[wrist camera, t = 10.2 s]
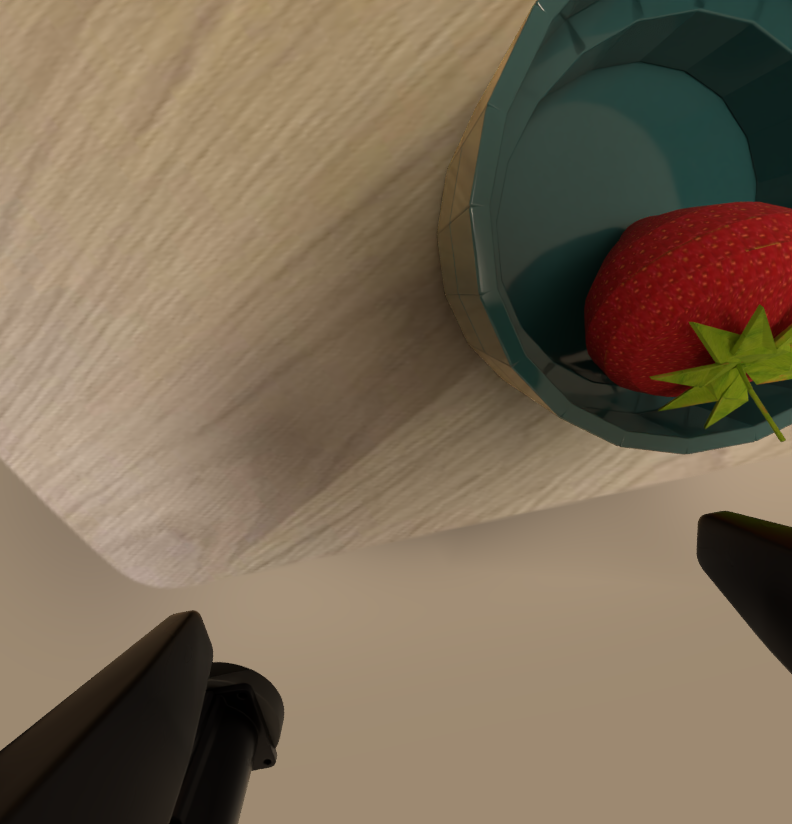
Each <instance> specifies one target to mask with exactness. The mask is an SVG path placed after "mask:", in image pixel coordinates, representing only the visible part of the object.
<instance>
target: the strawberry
mask: <svg viewBox="0 0 792 824" xmlns="http://www.w3.org/2000/svg"><path fill="white" fill-rule="evenodd" d="M584 319H585V340H586V347H587V351H588V355H589V356H590V357H591V359H592V360H593V361H594V363H595V364H596V365H597V366H598V367H599V368H600V369H601V370H602V371H603V372H604V373H605V374H606V376H607V377H608V378H609V379H610V380H611V381H613V382H614V383H616V384H617V385H619V386H620V387H623V388H626V389H629V390H632V391H636V392H641V393H646V394H651V395H657V396H665V397H676V398H674V399H673V400H671V401H670V402H669V403H667V404H666V405H664V406H663V407H661V408H660V409H658V411H663V410H669V409H675V408H680V407H686V406H692V405H698V404H703V403H709V402H715V401H717V402H716V404H715V406H714V408H713V410H712V412H711V413H710V415H709V417H708V419H707V421H706V423H705V425H704V428H705V429H706V428H708V427H709V426H711V425H712V424H714V423H715V422H717V421H719V420H720V419H722V418H723V417H725V416H726V415H728V414H729V413H731V412H732V411H734V410H735V409H737V408H738V407H740V406H741V405H743V404H744V403H746V402H747V401H748V392H749V394H750V395H751V397H752V398H753V400H754V402H755V403H756V405H757V406H758V408H759V409H760V411H761V412H762V414H763V415H764V417H765V419H766V420H767V422H768V423H769V425H770V426H771V428H772V429H773V431H774V432H775V434H776V436H777V437H778V439H779V440H780V442H783V441H785V440H786V439H785V438H784V436H783V435H782V433H781V432H780V430H779V429H778V427H777V425H776V424H775V422H774V421H773V419H772V418H771V416H770V415H769V413H768V412H767V410H766V409H765V407H764V405H763V404H762V402H761V401H760V399H759V398H758V396H757V395H756V393H755V392H754V390H753V388H752V386H751V384H750V382H751V381H754V382H755V384H756V385H759V384H765V383H771V382H777V381H783V380H789V379H792V209H791V208H786V207H781V206H777V205H772V204H767V203H762V202H732V203H724V204H715V205H707V206H698V207H690V208H684V209H678V210H675V211H671V212H668V213H664V214H661V215H657V216H649V217H646V218H643V219H640V220H638V221H636V222H634V223H633V224H631V225H630V226H629V227H628V228H627V229H626V230H625V231H624V232H623V234H622V235H621V237H620V239H619V241H618V242H617V243H616V244H615V246H614V247H613V248H612V249H611V250H610V252H609V253H608V255H607V256H606V258H605V259H604V261H603V263H602V265H601V267H600V269H599V271H598V273H597V275H596V277H595V280H594V282H593V284H592V286H591V288H590V290H589V293H588V295H587V297H586V300H585V308H584ZM747 390H748V392H747Z"/></svg>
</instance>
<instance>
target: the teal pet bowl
mask: <svg viewBox="0 0 792 824" xmlns="http://www.w3.org/2000/svg"><path fill="white" fill-rule="evenodd" d="M732 202H762V203H767V204H772V205H777V206H781V207H786V208H791V209H792V0H537V1H536V2H535V4H534V5H533V6H532V8H531V10H530V12H529V14H528V15H527V17H526V19H525V21H524V22H523V24H522V26H521V28H520V30H519V31H518V33H517V35H516V37H515V38H514V40H513V42H512V44H511V46H510V47H509V49H508V51H507V53H506V55H505V56H504V58H503V60H502V62H501V63H500V65H499V67H498V69H497V71H496V72H495V74H494V76H493V78H492V79H491V81H490V83H489V85H488V87H487V88H486V90H485V92H484V94H483V96H482V97H481V99H480V101H479V103H478V104H477V106H476V108H475V110H474V112H473V114H472V117H471V119H470V121H469V123H468V125H467V127H466V129H465V132H464V134H463V136H462V138H461V140H460V142H459V145H458V147H457V149H456V151H455V153H454V155H453V157H452V160H451V162H450V164H449V166H448V168H447V172H446V178H445V185H444V191H443V197H442V204H441V210H440V217H439V223H438V229H437V234H438V235H437V241H438V249H439V256H440V264H441V271H442V279H443V286H444V293H445V294H446V295H445V296H446V298H447V300H448V303H449V305H450V307H451V309H452V311H453V313H454V315H455V317H456V320H457V322H458V324H459V326H460V328H461V330H462V332H463V334H464V336H465V339H466V341H467V343H468V344H469V346H470V347H471V348H472V349H473V350H474V351H475V352H476V353H477V354H478V355H479V356H480V357H481V358H482V359H483V360H484V361H485V362H486V363H487V364H488V365H489V366H490V367H491V368H492V369H493V370H494V371H495V372H496V373H497V374H498V375H499V377H500V378H501V379H502V380H504V381H505V382H507V383H508V384H510V385H511V386H513V387H514V388H516V389H517V390H519V391H520V392H522V393H523V394H525V395H526V396H528V397H529V398H531V399H532V400H534V401H535V402H537V403H538V404H540V405H541V406H543V407H544V408H546V409H547V410H549V411H550V412H552V413H553V414H555V415H556V416H558V417H559V418H561V419H563V420H565V421H567V422H569V423H571V424H573V425H575V426H577V427H579V428H581V429H583V430H585V431H587V432H589V433H591V434H593V435H595V436H597V437H599V438H601V439H603V440H606V441H608V442H610V443H612V444H614V445H616V446H620V447H625V448H633V449H642V450H650V451H659V452H667V453H676V454H692V453H697V452H702V451H708V450H713V449H719V448H724V447H729V446H735V445H740V444H745V443H751V442H754V441H758V440H760V439H762V438H764V437H766V436H768V435H770V434H772V433H775V432H774V431H773V429H772V428H771V426H770V425H769V423H768V422H767V420H766V419H765V417H764V415H763V414H762V412H761V411H760V409H759V408H758V406H757V405H756V403H755V402H754V400H753V398H752V397H751V395H750V394H749V392H748V390H747V392H748V401H747V402H746V403H744V404H743V405H741V406H740V407H738V408H737V409H735V410H734V411H732V412H731V413H729V414H728V415H726V416H725V417H723V418H722V419H720V420H719V421H717V422H715V423H714V424H712V425H711V426H709V427H708V428H706V429H705V428H704V425H705V423H706V421H707V419H708V417H709V415H710V413H711V412H712V410H713V408H714V406H715V404H716V402H717V401H715V402H709V403H703V404H698V405H692V406H686V407H680V408H675V409H669V410H663V411H658V409H660V408H661V407H663V406H664V405H666V404H667V403H669V402H670V401H671V400H673V399H674V398H676V397H665V396H657V395H651V394H646V393H641V392H636V391H632V390H629V389H626V388H623V387H620V386H619V385H617V384H616V383H614V382H613V381H611V380H610V379H609V378H608V377H607V376H606V374H605V373H604V372H603V371H602V370H601V369H600V368H599V367H598V366H597V365H596V364H595V363H594V361H593V360H592V359H591V357H590V356H589V355H588V351H587V347H586V340H585V319H584V308H585V300H586V297H587V295H588V293H589V290H590V288H591V286H592V284H593V282H594V280H595V277H596V275H597V273H598V271H599V269H600V267H601V265H602V263H603V261H604V259H605V258H606V256H607V255H608V253H609V252H610V250H611V249H612V248H613V247H614V246H615V244H616V243H617V242H618V241H619V239H620V237H621V235H622V234H623V232H624V231H625V230H626V229H627V228H628V227H629V226H630V225H631V224H633V223H634V222H636V221H638V220H640V219H643V218H646V217H649V216H657V215H661V214H664V213H668V212H671V211H675V210H678V209H684V208H690V207H698V206H707V205H715V204H724V203H732ZM750 384H751V386H752V388H753V390H754V392H755V393H756V395H757V396H758V398H759V399H760V401H761V402H762V404H763V405H764V407H765V409H766V410H767V412H768V413H769V415H770V416H771V418H772V419H773V421H774V422H775V424H776V425H777V427H778V429H779V430H781V429H783V428H785V427H787V426H789V425H791V424H792V379H789V380H783V381H777V382H771V383H765V384H759V385H756V384H755V382H754V381H751V382H750Z"/></svg>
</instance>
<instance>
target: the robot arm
mask: <svg viewBox="0 0 792 824" xmlns="http://www.w3.org/2000/svg"><path fill="white" fill-rule="evenodd" d="M697 535H698V536H697V558H698V561H699V564H700V565H701V567H702V569H703V570H704V571H705V573H706V574H707V575H708V576H709V577H710V579H711V580H712V581H713V582H714V583H715V585H716V586H717V587H718V589H719V590H720V591H721V592H722V593H723V595H724V596H725V597H726V598H727V599H728V601H729V602H730V603H731V604H732V606H733V607H734V608H735V609H736V610H737V612H738V613H739V614H740V615H741V617H742V618H743V619H744V620H745V621H746V622H747V624H748V625H749V626H750V628H751V629H752V630H753V631H754V632H755V634H756V635H757V636H758V637H759V638H760V639H761V641H762V642H763V643H764V644H765V645H766V647H767V648H768V649H769V650H770V651H771V652H772V653H773V654H774V656H775V657H776V658H777V659H778V660H779V661H780V662H781V663H782V664H783V665H784V666H785V667H786V668H787V669H788V671H789V672H790V673H791V674H792V527H789V526H785V525H781V524H777V523H773V522H769V521H765V520H761V519H757V518H753V517H749V516H745V515H741V514H737V513H733V512H729V511H720V512H714V513H709V514H705V515H703V516H701V517H700V519H699V521H698V533H697ZM212 661H213V649H212V644H211V642H210V639H209V637H208V634H207V631H206V628H205V625H204V623H203V620H202V618H201V616H200V614H199V613H198V612H197V611H194V610H192V611H186V612H181V613H176V614H173V615H171V616H169V617H168V618H167V619H165V620H164V621H163V622H161V623H160V624H159V625H158V626H156V627H155V628H154V629H153V630H151V631H150V632H149V633H148V634H147V635H145V636H144V637H143V638H141V639H140V640H139V641H138V642H136V643H135V644H134V645H133V646H131V647H130V648H129V649H128V650H126V651H125V652H124V653H123V654H122V655H120V656H119V657H118V658H116V659H115V660H114V661H113V662H111V663H110V664H109V665H108V666H106V667H105V668H104V669H103V670H101V671H100V672H99V673H98V674H96V675H95V676H94V677H92V678H91V679H90V680H89V681H87V682H86V683H85V684H84V685H82V686H81V687H80V688H79V689H77V691H75V692H74V693H73V694H71V695H70V696H69V697H67V698H66V699H65V700H64V701H62V702H61V703H60V704H59V705H57V706H56V707H55V708H54V709H52V710H51V711H50V712H49V713H47V714H46V715H45V716H44V717H42V718H41V719H40V720H39V721H38V722H36V723H35V724H34V725H33V726H31V727H30V728H29V729H27V730H26V731H25V732H24V733H22V734H21V735H20V736H19V737H17V738H16V739H15V740H14V741H12V742H11V743H10V744H8V745H7V746H6V747H5V748H3V749H2V750H1V751H0V824H238V821H239V817H240V813H241V809H242V805H243V801H244V797H245V793H246V790H247V785H248V782H249V778H250V774H251V771H253V770H258V769H264V768H269V767H272V766H274V764H275V763H276V758H277V752H276V749H275V747H274V744H273V741H272V739H271V736H270V733H269V730H268V728H267V725H266V722H265V719H264V717H263V714H262V711H261V709H260V706H259V703H258V700H257V698H256V695H255V692H254V690H253V687H252V686H251V685H250V684H248V683H239V684H234V685H228V686H223V687H218V688H212V689H207V690H206V687H207V683H208V679H209V674H210V670H211V666H212ZM243 692H244V693H243Z"/></svg>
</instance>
